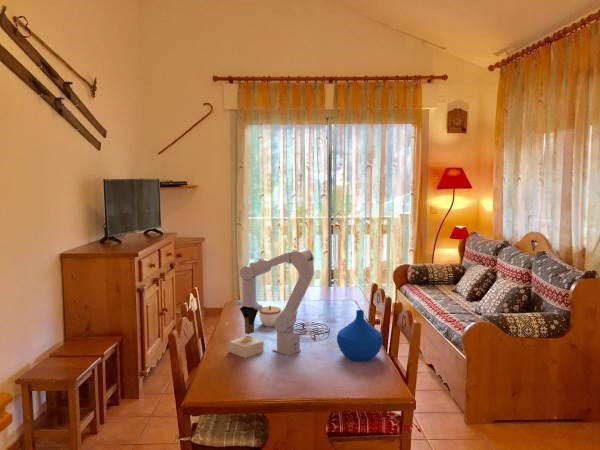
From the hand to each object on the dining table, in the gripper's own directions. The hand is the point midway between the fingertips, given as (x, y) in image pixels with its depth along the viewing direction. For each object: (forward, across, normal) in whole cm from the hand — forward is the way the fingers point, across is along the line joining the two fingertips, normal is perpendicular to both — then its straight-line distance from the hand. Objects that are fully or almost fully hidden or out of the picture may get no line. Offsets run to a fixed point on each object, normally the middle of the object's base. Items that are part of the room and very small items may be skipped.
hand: (249, 323), depth 204 cm
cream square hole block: (+10, -5, +6) cm, 12 cm away
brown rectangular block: (+4, 0, 0) cm, 4 cm away
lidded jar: (+10, +15, -26) cm, 31 cm away
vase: (+10, -42, -22) cm, 49 cm away
